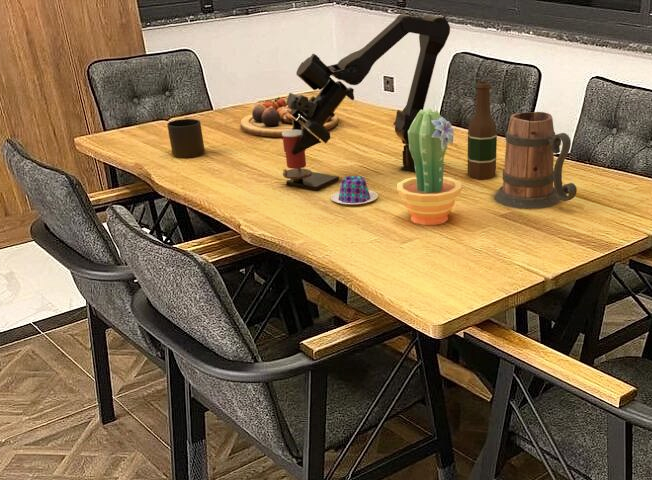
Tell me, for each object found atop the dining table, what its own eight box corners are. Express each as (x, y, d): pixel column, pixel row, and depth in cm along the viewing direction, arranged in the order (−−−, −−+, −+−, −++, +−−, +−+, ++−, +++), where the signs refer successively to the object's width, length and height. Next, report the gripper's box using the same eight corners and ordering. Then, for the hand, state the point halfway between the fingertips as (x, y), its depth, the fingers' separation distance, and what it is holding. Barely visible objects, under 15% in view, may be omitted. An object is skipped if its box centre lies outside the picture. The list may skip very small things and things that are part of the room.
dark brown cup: (194, 146, 256) (189, 115, 251) (210, 154, 248) (205, 123, 243) (165, 151, 251) (159, 120, 247) (179, 160, 243) (173, 128, 238)
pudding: (384, 193, 215) (383, 173, 212) (369, 208, 205) (367, 187, 202) (340, 190, 218) (339, 170, 215) (323, 205, 208) (321, 184, 205)
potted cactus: (406, 233, 191) (403, 120, 177) (390, 211, 203) (385, 105, 190) (470, 225, 194) (471, 115, 181) (450, 204, 207) (450, 99, 193)
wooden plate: (357, 121, 279) (356, 95, 275) (296, 143, 257) (293, 115, 252) (284, 110, 294) (282, 85, 289) (220, 130, 271) (216, 104, 267)
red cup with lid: (312, 164, 220) (309, 131, 215) (298, 170, 216) (294, 136, 211) (294, 161, 223) (291, 128, 218) (280, 167, 218) (276, 133, 214)
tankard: (480, 196, 212) (481, 115, 201) (526, 182, 221) (530, 104, 210) (548, 220, 197) (554, 134, 186) (595, 204, 206) (603, 121, 195)
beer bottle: (493, 180, 223) (496, 86, 210) (465, 178, 224) (465, 85, 211) (497, 171, 229) (500, 79, 216) (469, 170, 231) (470, 79, 218)
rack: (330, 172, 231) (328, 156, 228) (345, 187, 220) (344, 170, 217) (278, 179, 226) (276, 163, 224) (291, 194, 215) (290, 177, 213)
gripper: (293, 74, 216) (257, 122, 219) (313, 88, 202) (274, 139, 204) (325, 102, 223) (289, 149, 226) (346, 117, 209) (308, 167, 211)
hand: (289, 150), depth 217 cm, fingers closed on red cup with lid, 5 cm apart
